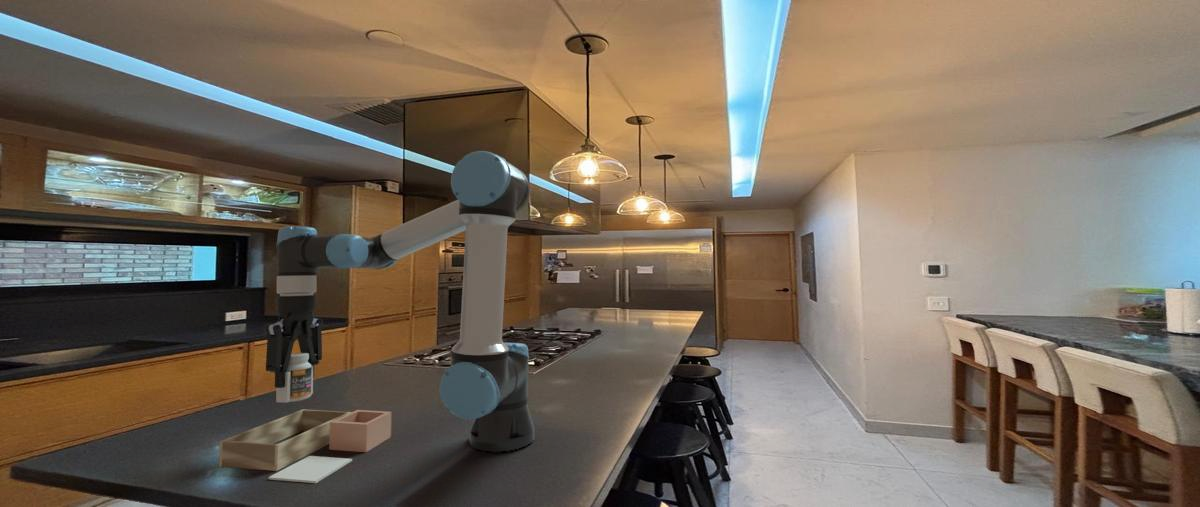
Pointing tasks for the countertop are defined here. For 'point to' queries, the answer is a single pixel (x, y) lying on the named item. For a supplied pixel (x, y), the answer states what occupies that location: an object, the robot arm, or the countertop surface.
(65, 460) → the countertop surface
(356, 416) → the pink open box
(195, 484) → the countertop surface
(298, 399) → the pill bottle
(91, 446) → the countertop surface
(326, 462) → the square cream tile
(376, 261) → the robot arm
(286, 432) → the oak crate
